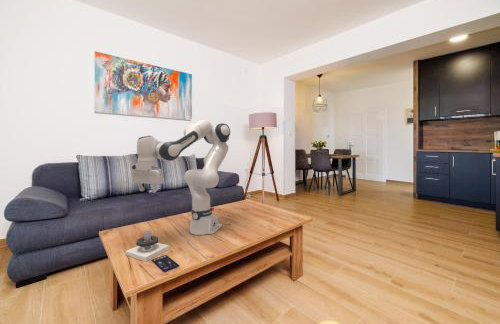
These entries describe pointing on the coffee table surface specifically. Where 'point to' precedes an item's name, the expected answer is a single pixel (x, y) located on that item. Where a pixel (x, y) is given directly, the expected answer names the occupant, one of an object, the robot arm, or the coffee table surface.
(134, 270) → the coffee table surface
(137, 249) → the pipe stand
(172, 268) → the smartphone
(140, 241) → the ring
